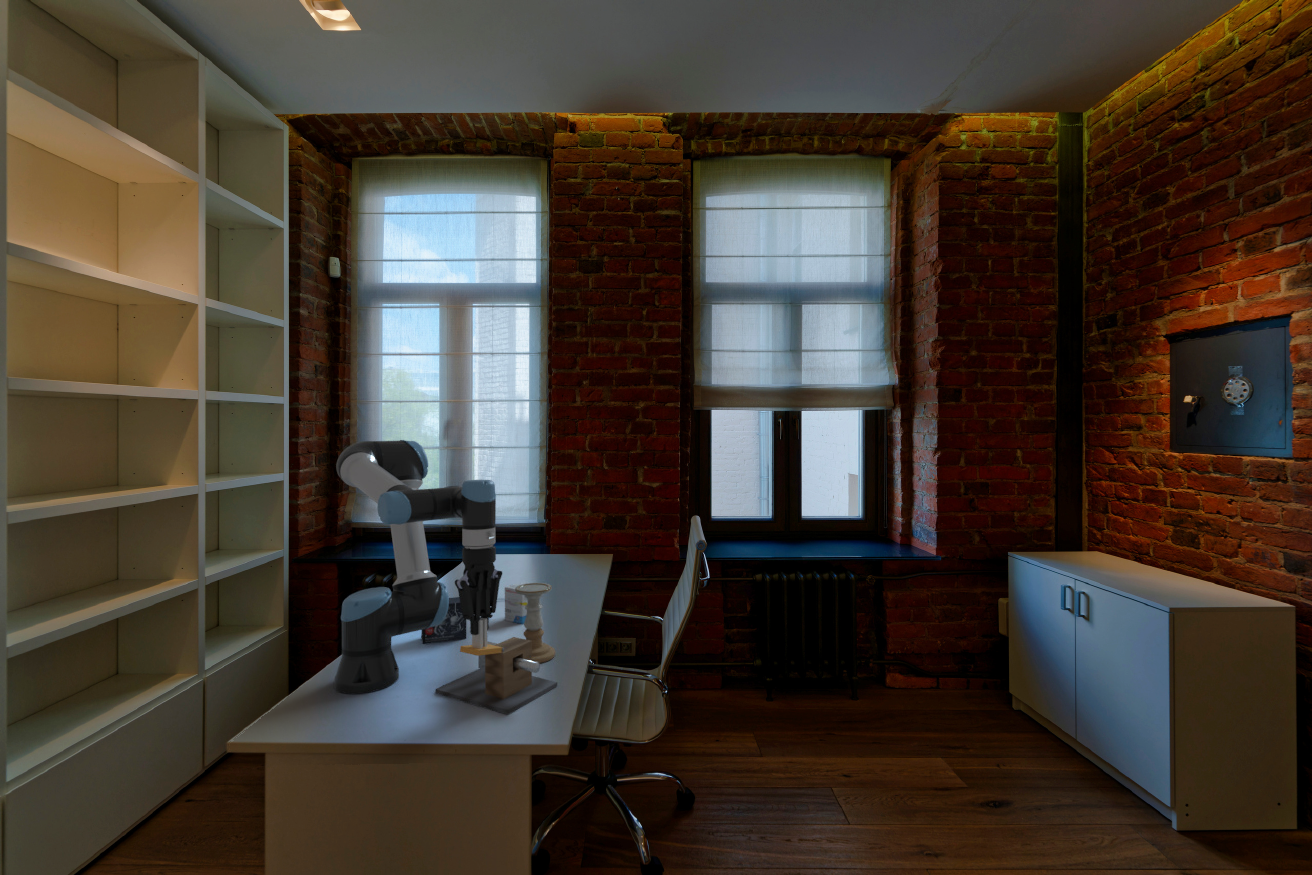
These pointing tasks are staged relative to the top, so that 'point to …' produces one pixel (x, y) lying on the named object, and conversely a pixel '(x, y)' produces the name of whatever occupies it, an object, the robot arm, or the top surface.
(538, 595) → the candle holder
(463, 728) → the top surface
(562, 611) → the top surface
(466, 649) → the plate
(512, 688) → the hitch block
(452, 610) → the small box
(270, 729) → the top surface
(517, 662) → the lynch pin
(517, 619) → the ink box
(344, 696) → the top surface
